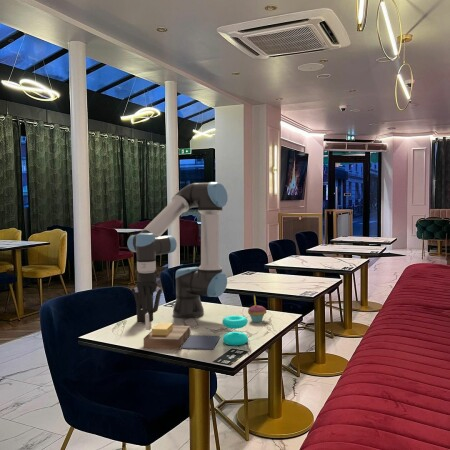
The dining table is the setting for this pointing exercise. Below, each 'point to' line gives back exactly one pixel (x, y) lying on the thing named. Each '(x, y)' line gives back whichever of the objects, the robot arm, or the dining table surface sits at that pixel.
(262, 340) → the dining table surface
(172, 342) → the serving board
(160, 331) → the yellow flat block
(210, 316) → the dining table surface
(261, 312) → the cupcake
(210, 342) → the mat
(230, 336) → the donuts
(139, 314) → the bottle
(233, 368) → the dining table surface
